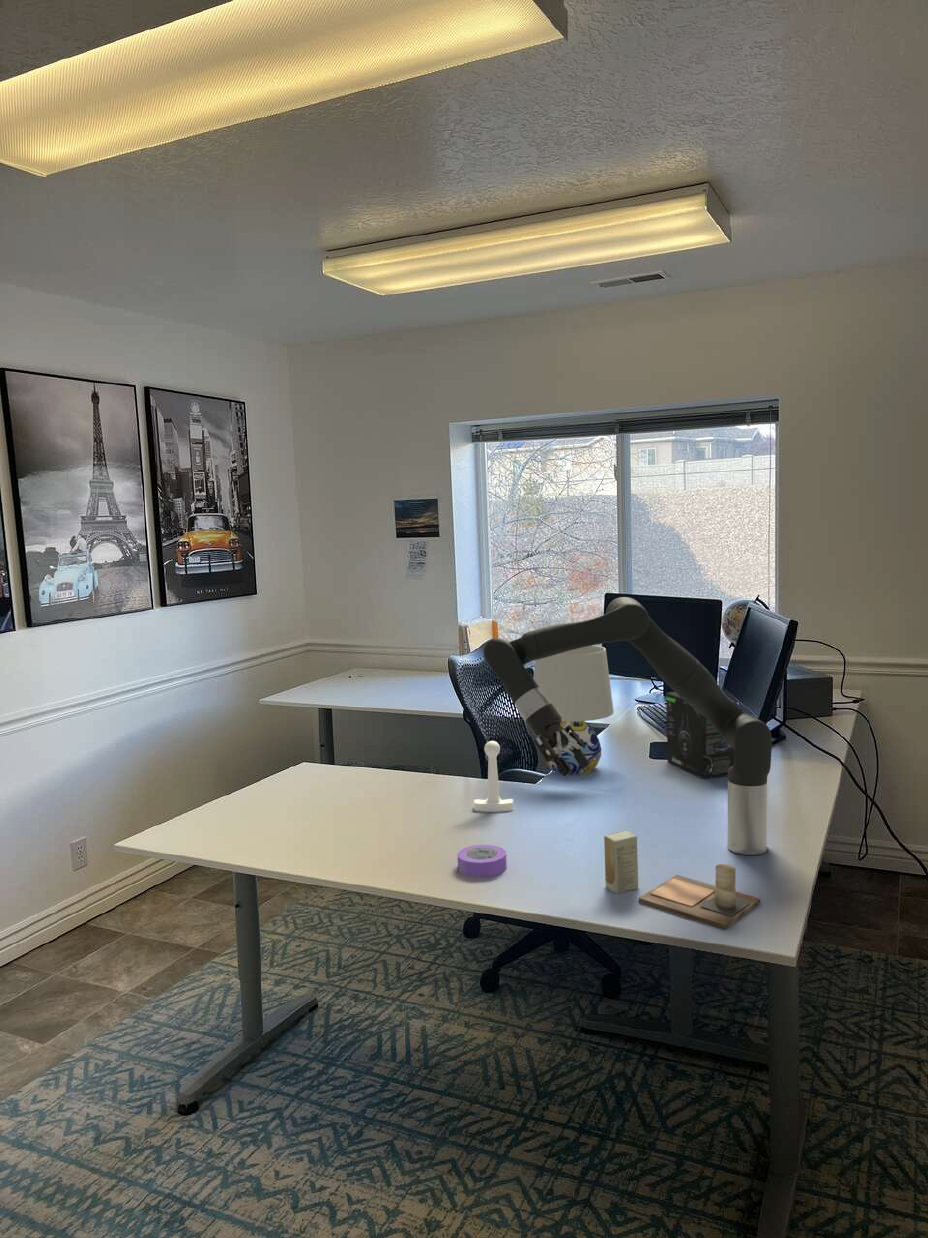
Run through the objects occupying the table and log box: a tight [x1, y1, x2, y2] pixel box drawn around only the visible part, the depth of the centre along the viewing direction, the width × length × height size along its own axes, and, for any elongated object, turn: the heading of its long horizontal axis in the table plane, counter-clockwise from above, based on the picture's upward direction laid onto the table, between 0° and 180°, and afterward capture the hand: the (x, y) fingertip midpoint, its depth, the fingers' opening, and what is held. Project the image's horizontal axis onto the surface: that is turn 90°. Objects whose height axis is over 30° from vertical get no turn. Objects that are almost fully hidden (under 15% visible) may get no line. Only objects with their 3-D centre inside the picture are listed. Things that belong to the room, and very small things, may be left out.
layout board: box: [638, 863, 762, 931], centre depth 189 cm, size 16×20×9 cm
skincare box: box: [603, 830, 639, 894], centre depth 197 cm, size 6×4×12 cm
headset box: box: [665, 691, 735, 779], centre depth 287 cm, size 22×12×26 cm, turn 17°
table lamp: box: [532, 645, 615, 776], centre depth 289 cm, size 27×27×40 cm
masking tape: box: [457, 844, 508, 878], centre depth 212 cm, size 12×12×4 cm
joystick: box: [473, 740, 514, 813], centre depth 254 cm, size 11×8×20 cm
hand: (577, 770), depth 201 cm, fingers open, 8 cm apart
